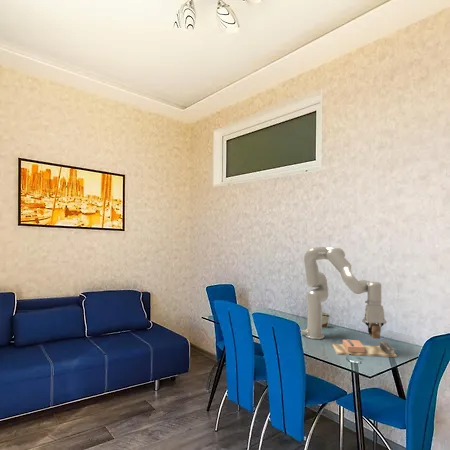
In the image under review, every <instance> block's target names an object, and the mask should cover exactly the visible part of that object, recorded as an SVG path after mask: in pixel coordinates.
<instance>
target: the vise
mask: <svg viewBox="0 0 450 450" xmlns="http://www.w3.org/2000/svg"><path fill="white" fill-rule="evenodd" d="M331 345H332V348H333V350H334V351H335V353H336V354H337V355H341V356H342V355H343V356H360V355H365V356H366V357H387V358H397V357H398V355H397V354H396V352H395V348H393V346H391V344H389V343H388V341H380V342H379V345H365V344H363V345H364V346H365V353H364V352H348V351H347V350H346V349H345V347H344V346H343V343H332V344H331ZM349 354H351V355H349ZM365 356H364V357H365Z"/></svg>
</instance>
